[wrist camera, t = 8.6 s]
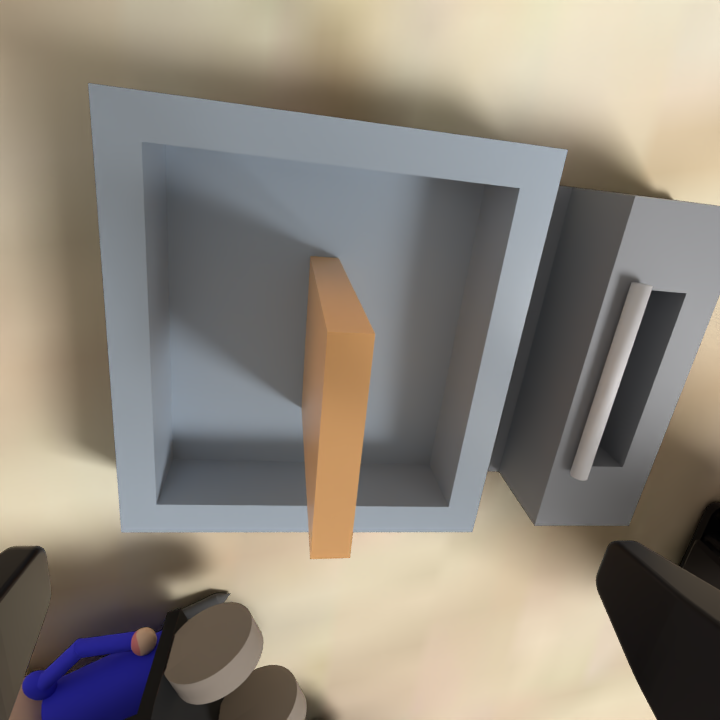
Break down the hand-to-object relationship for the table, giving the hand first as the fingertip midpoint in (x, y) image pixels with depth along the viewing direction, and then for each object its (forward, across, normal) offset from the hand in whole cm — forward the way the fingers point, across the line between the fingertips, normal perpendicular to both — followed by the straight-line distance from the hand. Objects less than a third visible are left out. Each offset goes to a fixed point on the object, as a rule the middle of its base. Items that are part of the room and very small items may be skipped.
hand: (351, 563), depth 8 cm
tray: (+12, 0, 0) cm, 12 cm away
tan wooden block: (+12, 0, 0) cm, 12 cm away
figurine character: (+12, +7, +17) cm, 22 cm away
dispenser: (+12, -11, 0) cm, 16 cm away
